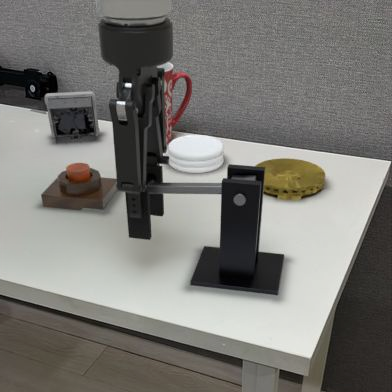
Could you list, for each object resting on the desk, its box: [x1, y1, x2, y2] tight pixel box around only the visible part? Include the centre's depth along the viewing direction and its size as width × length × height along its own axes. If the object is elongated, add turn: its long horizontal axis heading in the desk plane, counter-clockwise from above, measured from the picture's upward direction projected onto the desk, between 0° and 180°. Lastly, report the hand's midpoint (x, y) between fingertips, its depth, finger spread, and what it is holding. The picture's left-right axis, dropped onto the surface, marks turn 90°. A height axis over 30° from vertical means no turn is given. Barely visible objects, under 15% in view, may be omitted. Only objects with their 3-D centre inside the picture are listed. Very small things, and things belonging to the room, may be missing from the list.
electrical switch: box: [44, 90, 100, 143], centre depth 107 cm, size 9×5×9 cm, turn 99°
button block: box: [40, 167, 118, 211], centre depth 89 cm, size 10×8×4 cm
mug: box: [157, 61, 193, 145], centre depth 106 cm, size 13×9×14 cm
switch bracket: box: [189, 164, 285, 296], centre depth 69 cm, size 11×9×14 cm
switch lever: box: [146, 173, 256, 195], centre depth 67 cm, size 14×6×2 cm, turn 78°
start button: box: [65, 162, 91, 182], centre depth 88 cm, size 4×4×2 cm
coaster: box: [167, 134, 225, 174], centre depth 100 cm, size 10×10×4 cm
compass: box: [255, 157, 326, 201], centre depth 94 cm, size 12×12×2 cm
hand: (147, 225), depth 71 cm, fingers closed on switch lever, 5 cm apart
